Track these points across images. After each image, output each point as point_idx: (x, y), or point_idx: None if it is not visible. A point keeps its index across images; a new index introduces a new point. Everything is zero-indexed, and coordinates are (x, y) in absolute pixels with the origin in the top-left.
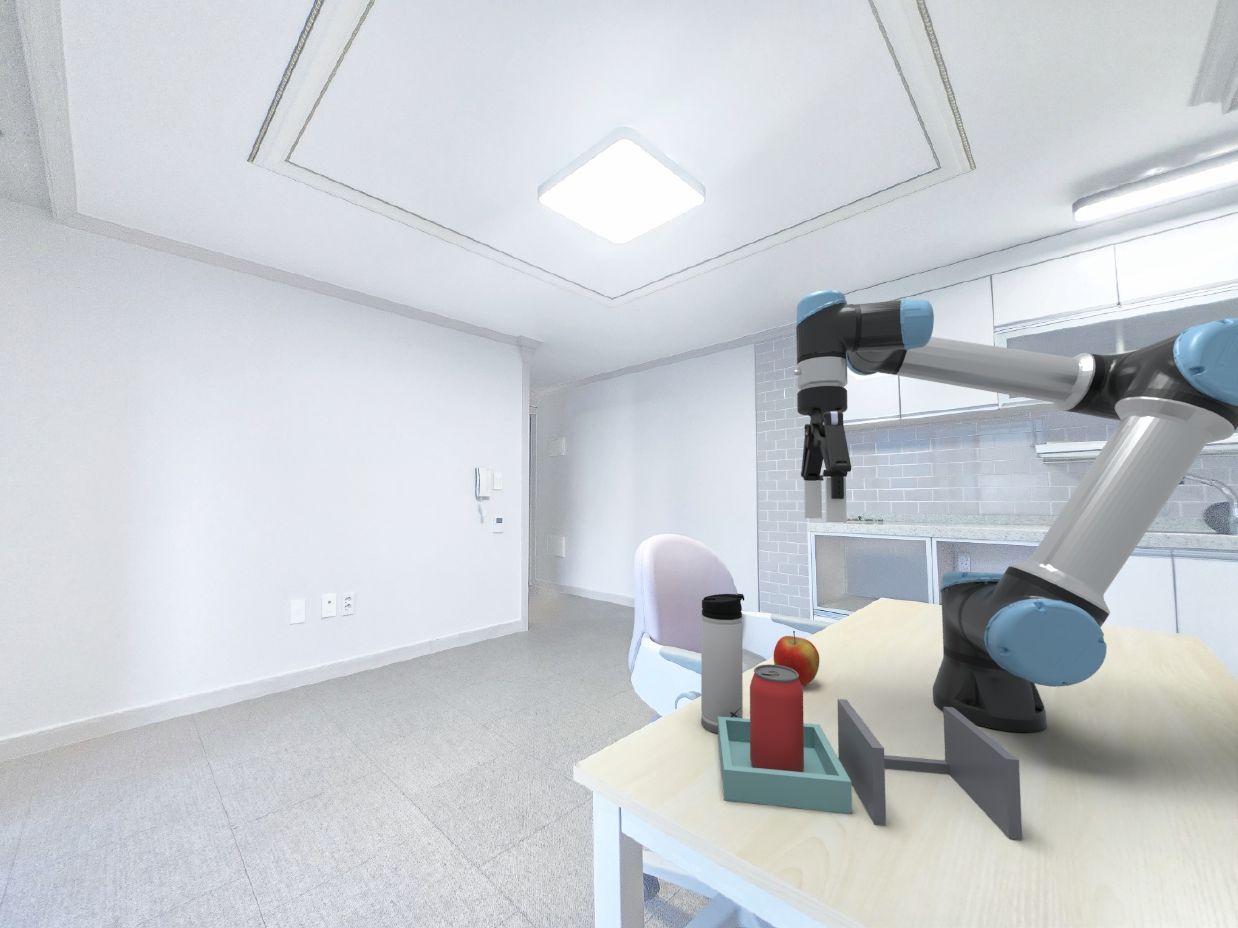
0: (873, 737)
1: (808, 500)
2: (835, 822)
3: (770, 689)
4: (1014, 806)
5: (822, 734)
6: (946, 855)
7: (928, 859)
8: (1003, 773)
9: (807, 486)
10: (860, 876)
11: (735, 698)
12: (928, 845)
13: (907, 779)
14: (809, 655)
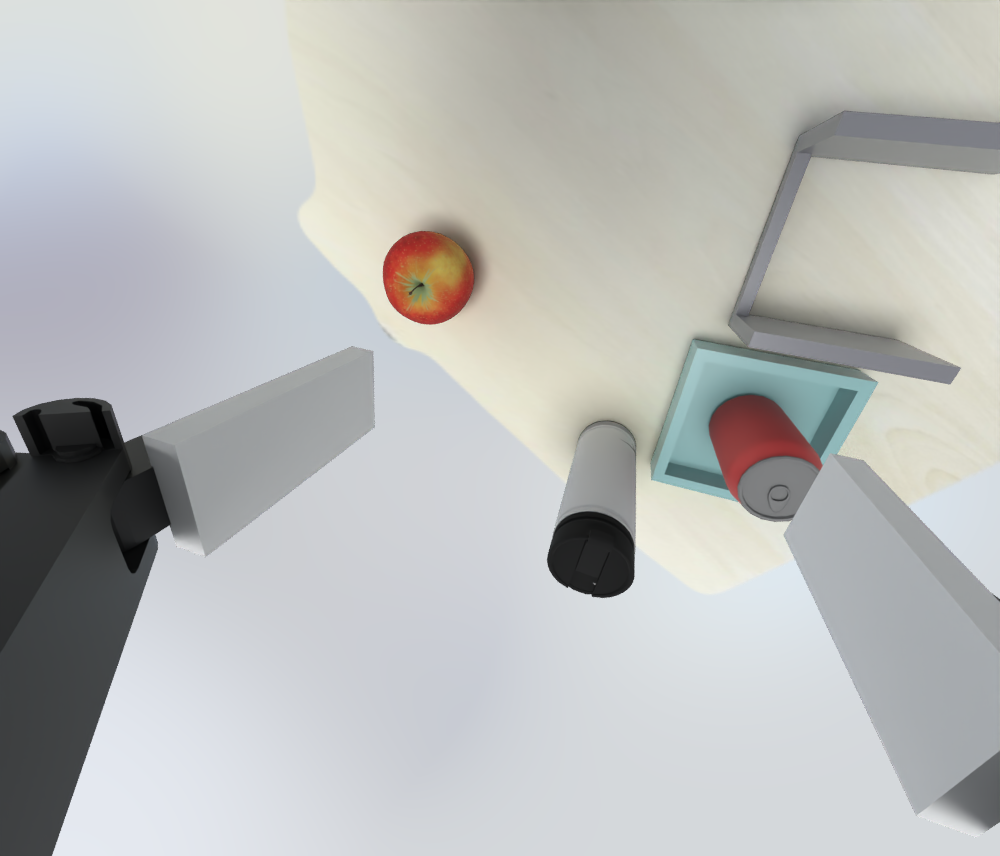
0: (916, 363)
1: (313, 457)
2: (869, 398)
3: None
4: None
5: (731, 358)
6: (982, 295)
7: (978, 323)
8: None
9: (241, 513)
10: (970, 416)
11: (633, 459)
12: (955, 307)
13: (802, 243)
14: (458, 268)
